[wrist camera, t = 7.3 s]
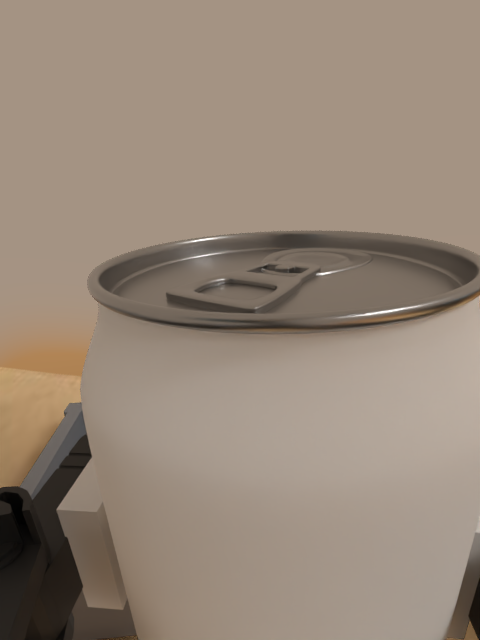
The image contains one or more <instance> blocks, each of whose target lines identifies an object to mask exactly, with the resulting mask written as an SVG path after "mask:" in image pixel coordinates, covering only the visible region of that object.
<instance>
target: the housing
mask: <svg viewBox="0 0 480 640" xmlns="http://www.w3.org/2000/svg"><path fill="white" fill-rule="evenodd" d="M64 415H65V417H64V419H63V420H62V422H61V423H60V425H59V426H58V428H57V430H56V431H55V433H54V434H53V436H52V437H51V439H50V440H49V442H48V444H47V445H46V447H45V448H44V450H43V451H42V453H41V454H40V456H39V458H38V459H37V461H36V462H35V464H34V465H33V467H32V468H31V470H30V472H29V473H28V475H27V476H26V478H25V479H24V481H23V482H22V484H21V485H20V488H23V489H25V490H27V491H28V492H29V494H30V496H31V498H32V500H33V499H34V497H35V496H36V495H37V493H38V492H39V491H40V490H41V488H42V487H43V486H44V484H45V483H46V482H47V481H48V479H49V478H50V477H51V475H52V474H53V473H54V471H55V470H56V469H59V465H60V464H61V462H62V461H63V460H64V458H65V457H66V456H68V455H69V452H70V451H71V449H72V448H73V447H74V446H75V444H76V443H77V442H78V440H79V439H80V438H81V437H82V436H84V435H85V434H86V433H87V432H86V427H85V422H84V417H83V411H82V402H81V403H69V405H68V406H67V408H66V409H65V411H64ZM72 614H73V616H74V634H73V639H72V640H97V639H106V638H115V637H124V636H133V635H137V634H136V630H135V626H134V622H133V618H132V614H131V610H130V606H129V602H128V598H127V600H126V603H125V606H124V609H123V610H119V609H107V608H95V607H88V606H87V603H86V599H85V596H84V593H83V590H82V591H81V593H80V595H79V597H78V599H77V601H76V603H75V605H74V607H73V610H72Z"/></svg>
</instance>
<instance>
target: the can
mask: <svg viewBox="0 0 480 640" xmlns="http://www.w3.org/2000/svg"><path fill="white" fill-rule="evenodd" d="M87 285H88V290H89V292H90V294H91V295H92V297H93V298H94V299H95V300H96V301H97V302H98V306H99V313H98V319H97V323H96V327H95V330H94V333H93V336H92V339H91V343H90V346H89V349H88V353H87V357H86V360H85V364H84V368H83V373H82V379H81V388H80V391H81V402H82V411H83V417H84V422H85V427H86V432H87V436H88V441H89V446H90V450H91V454H92V458H93V463H94V467H95V471H96V475H97V479H98V483H99V487H100V491H101V495H102V500H103V504H104V507H105V511H106V515H107V519H108V523H109V527H110V531H111V535H112V539H113V543H114V547H115V551H116V555H117V559H118V563H119V567H120V571H121V575H122V579H123V583H124V587H125V591H126V594H127V598H128V602H129V606H130V610H131V614H132V618H133V622H134V626H135V630H136V634H137V637H138V640H446V639H447V636H448V632H449V628H450V625H451V621H452V617H453V614H454V610H455V606H456V603H457V599H458V595H459V591H460V588H461V584H462V580H463V576H464V573H465V569H466V565H467V561H468V558H469V554H470V550H471V546H472V543H473V539H474V535H475V531H476V528H477V524H478V520H479V516H480V309H479V296H480V256H479V255H478V254H476V253H474V252H472V251H469V250H466V249H464V248H461V247H458V246H455V245H451V244H447V243H442V242H438V241H433V240H428V239H422V238H416V237H409V236H401V235H392V234H381V233H368V232H349V231H274V232H255V233H242V234H241V233H240V234H229V235H219V236H210V237H202V238H195V239H188V240H181V241H175V242H170V243H165V244H159V245H155V246H150V247H146V248H142V249H138V250H135V251H131V252H128V253H125V254H122V255H119V256H117V257H114V258H112V259H110V260H108V261H106V262H104V263H102V264H100V265H99V266H97V267H96V268H95V269H94V270H93V271H92V272H91V273H90V275H89V277H88V280H87Z"/></svg>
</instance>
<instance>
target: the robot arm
mask: <svg viewBox="0 0 480 640" xmlns="http://www.w3.org/2000/svg"><path fill="white" fill-rule="evenodd" d="M82 590H83V593H84V596H85V599H86V603H87V606H88V607H95V608H107V609H119V610H123V609H124V606H125V603H126V600H127V594H126V591H125V587H124V583H123V579H122V575H121V571H120V567H119V563H118V559H117V555H116V551H115V547H114V543H113V539H112V535H111V531H110V527H109V523H108V519H107V515H106V511H105V507H104V504H103V500H102V495H101V491H100V487H99V483H98V479H97V475H96V471H95V467H94V463H93V458H92V454H91V450H90V446H89V441H88V436H87V433H86V434H85V435H84V436H82V437H81V438H80V439H79V440H78V442H77V443H76V444H75V446H74V447H73V448H72V449H71V451H70V452H69V455H68V456H66V457H65V458H64V460H63V461H62V462H61V464H60V465H59V469H56V470H55V471H54V473H53V474H52V475H51V477H50V478H49V479H48V481H47V482H46V483H45V484H44V486H43V487H42V488H41V490H40V491H39V492H38V493H37V495H36V496H35V497H34V499H33V500H32V498H31V496H30V494H29V492H28V491H27V490H25V489H23V488H20V487H18V486H17V487H2V488H0V640H72V639H73V634H74V616H73V614H72V610H73V607H74V605H75V603H76V601H77V599H78V597H79V595H80V593H81V591H82ZM469 620H470V621H471V623H472V626H473V628H474V630H475V632H476V635H477V637H478V639H479V640H480V516H479V520H478V524H477V528H476V531H475V535H474V539H473V543H472V546H471V550H470V554H469V558H468V561H467V565H466V569H465V573H464V576H463V580H462V584H461V588H460V591H459V595H458V599H457V603H456V606H455V610H454V614H453V617H452V621H451V625H450V628H449V632H448V636H447V638H457V639H464V637H465V634H466V630H467V627H468V624H469Z"/></svg>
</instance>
